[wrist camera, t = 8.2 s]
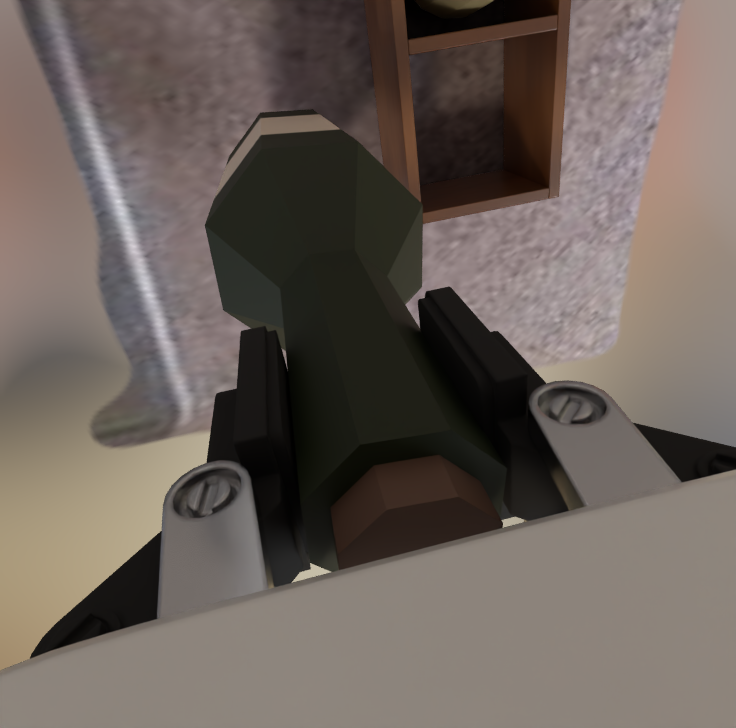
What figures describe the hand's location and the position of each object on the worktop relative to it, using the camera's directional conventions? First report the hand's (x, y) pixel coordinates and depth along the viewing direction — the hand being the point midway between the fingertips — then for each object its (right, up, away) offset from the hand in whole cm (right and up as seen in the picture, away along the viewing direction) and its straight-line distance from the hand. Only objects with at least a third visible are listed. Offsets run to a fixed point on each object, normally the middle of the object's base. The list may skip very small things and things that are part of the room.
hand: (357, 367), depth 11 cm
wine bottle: (-5, +12, +21) cm, 25 cm away
